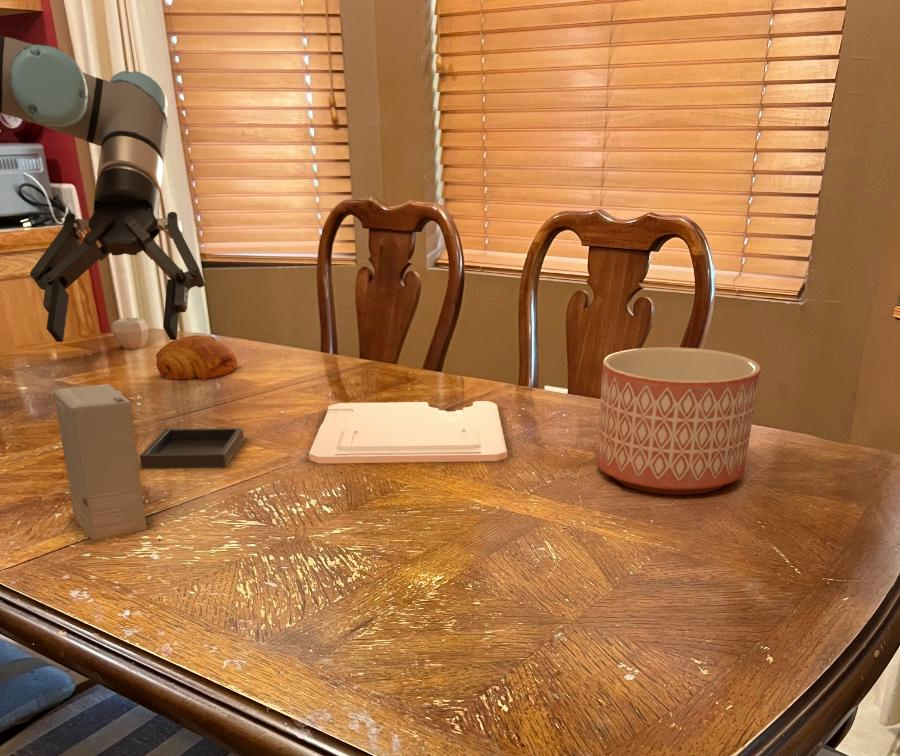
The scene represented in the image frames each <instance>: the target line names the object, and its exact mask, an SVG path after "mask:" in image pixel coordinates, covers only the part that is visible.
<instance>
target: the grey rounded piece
mask: <svg viewBox="0 0 900 756" xmlns="http://www.w3.org/2000/svg"><path fill="white" fill-rule="evenodd" d="M111 332H112V335H113V336H114V339H115V340H116V342H117V343H118V344H119V345H120V346H121V347H122V348H123V349H125V350H138V349H142V348H144V346H146V344H147V341H148V339H149V332H150V327H149V325H148V324H147V322H146V320H144V319H142V318H139V317H125V318H124V317H123V318H118V319H117V320H113V321H112V322H111Z"/></svg>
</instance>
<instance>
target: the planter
mask: <svg viewBox="0 0 900 756" xmlns="http://www.w3.org/2000/svg"><path fill="white" fill-rule="evenodd" d="M760 374H761V366H760V364H759V363H758V362H756V361H755V360H753V359H751V358H748V357H746V356H744V355H741V354H735V353H730V352H727V351H721V350H720V351H719V350H715V349H706V348H695V347H676V346H675V347H673V346H672V347H671V346H670V347H669V346H668V347H666V346H665V347H664V346H663V347H661V346H660V347H659V346H658V347H657V346H656V347H643V348H642V347H641V348H633V349H627V350H622V351H618V352H614V353H612V354H611V353H610V354H609V355H607V356H606V357H605V358H604V360H603V363H602V376H601V377H602V378H601V390H600V391H601V392H600V405H599V418H598V420H599V421H598V431H597V432H598V433H597V443H596V444H597V447H596V458H595V463H596V464H597V467H598V468H599V469H600V471H602V472H603V473H605V474H606V475H608V476H610V477H611V478H613V479H614V480H616V482H617V483H619V484H621V485H623V486H625V487H628V488H630V489H634V490H637V491H642V492H646V493H652V494H657V495H666V496H667V495H668V496H669V495H670V496H688V495H699V494H706V493H711V492H713V491H716V490H719V489H721V488H722V487H724V486H726V485H728V484H732V483H733V482H735V481H737V480H739V479H740V478H742V476H743V475H744V473H745V470H746V463H747V456H748V452H749V451H748V450H749V444H750V438H751V432H752V425H753V418H754V411H755V406H756V399H757V393H758V387H759V380H760Z"/></svg>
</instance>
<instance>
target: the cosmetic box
mask: <svg viewBox="0 0 900 756" xmlns="http://www.w3.org/2000/svg"><path fill="white" fill-rule="evenodd" d="M52 392H53V396H54V404H55V408H56V415H57V420H58V427H59V433H60V439H61V445H62V451H63V457H64V458H63V459H64V461H65V462H64V463H65V470H66V475H67V483H68V488H69V495H70V500H71V505H72V513H73V519H74V520H75V522H76V523H77V524H78V526H79V527H80V528H81V530H82V531H83V532H84V534H86V535H87V537H89V539H90V540H91V541H93V542H96V541H100V540H105V539H109V538H113V537H117V536H122V535H126V534H130V533H134V532H139V531H143V530H147V529H148V527H147V520H146V519H147V518H146V513H145V504H144V496H143V488H142V480H141V472H140V465H139V457H138V450H137V441H136V433H135V432H136V431H135V426H134V425H135V423H134V417H133V409H132V403H131V401H130V400H129V399H128V398H126V397H125V396H124V395H123V392H122V391H121V390H119V389H115V388H114V387H113V386H111V384H109V383H105V384H96V385H84V386H73V387H72V386H71V387H61V388H57V389H53V390H52Z"/></svg>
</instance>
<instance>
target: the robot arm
mask: <svg viewBox="0 0 900 756" xmlns="http://www.w3.org/2000/svg"><path fill="white" fill-rule="evenodd" d="M168 107H169V103H168V98H167V96H166V93H165V92H164V90H163V88H162V87H161V85H160V84H159V83H158V82H157V81H156V80H155V79H153V78H152V77H150V76H149V75H147V74H146V73H143V72H140V71H137V70H134V71H127V70H122V71H119V72H117V73H115V74H114V75H112V77H111V79H110V81H109V80H106V79H102V78H99V77H96V76H93V75H91V74H88V73H87V72H83V70H82V69H81V67H80V65H79V64H78V63H77V61H76V60H75V59H74V58H73V57H72V56H70V55H68V54H67V53H66V52H65V51H64V50H61V49H59V48H56V47H54V46H52V45H48V44H44V43H41V44H33V43H29V42H27V41H23V40H21V39H20V40H19V39H17V38H12V37H9V36H5V35H1V34H0V114H2V115H6V116H10V117H13V118H17V119H20V120H22V121H24V122H26V123H32V124H34V125H38V126H42V127H44V128H47V129H50V130H53V131H55V132H57V133H60V134H64V135H68V136H70V137H74V138H76V139H79V140H83V141H85V142H87V143H90V144H93V145H96V146H98V147H100V153H99V159H98V165H97V172H96V177H97V179H96V180H95V181H96V182H95V190H94V198H93V213H92V214H91V216H90V217H89V219H86V218H85V219H83V218H77V216H76V214H74V213H72V212H69V213H67V214H66V215H65V217H64V221H63V224H62V227H61V229H60V231H59V232H58V233H57V235H56V236H55V238H53V240H52V241H51V243H50V244H49V246H48V247H47V248H46V250H44V252H43V254H42V255H41V257H40V258H39V259H38V260H37V262H36V263H35V265H34V266H33V267H32V269H31V270H30V272H29V275H30V277H31V278H32V280H33V281H34V282H35V284H36V285H37V286H38V287H39V289H40V290H42V291H44V293H43V301H42V305H43V307H44V309H45V310H46V312H47V314H48V315H47V323H46V330H47V331H48V333H49V334H50V335H51V336H52V337H53V339H54V341H55V342H56V343H63V342H64V337H65V329H66V322H67V316H68V315H67V314H68V307H69V299H70V295H69V293H68V292H67V289H68V288H69V287H70V286H71V285H72V284H73V283H75V282H76V281H77V280H78V279H79V278H80V277H81V276H82V275H84V274H85V273H86V272H87V271H88V270H89V269H90V268H91V267H93V265H95V264H96V263H97V262H98V261H104V260H105V259H106V258H107V257H108V256H109V255H110V254H111V256H122V255H129V256H138V254H139V253H141V252H143V253H145V255H146V256H147V257H148V258H149V259H150V260H151V261H153V262H154V263H155V265H157V267H159V268H160V270H161V271H162V272H163V273H164V274H165V275H166V276H167V279H166V280H167V282H166V290H165V291H166V292H165V301H164V312H163V323H162V327H163V330H164V332H165V333H166V335H167V337H168V339H169V340H170V341H174V340H177V339H178V329H179V316H180V313H186V312H187V310H188V304H189V303H188V301H189V292H190V290H191V289H193V288H194V287H195V288H196V287H197V288H203V287H204V286H205V285H206V281H205V278H204V276H203V273H202V271H201V269H200V267H199V264H198V263H197V261H196V259H195V257H194V255H193V253H192V251H191V250H190V248H189V245H188V244H187V242H186V240H185V238H184V227H183V225H182V223H181V221H180V218H179V216H178V214H177V212H176V211H171V212H168V213H167V216H166V217H163V218H159V214H160V213H159V212H160V204H161V203H160V202H161V195H160V194H161V190H162V182H163V171H164V170H163V169H164V160H165V152H166V143H167V133H168V128H169V120H168V115H169V114H168V112H169V110H168V109H169V108H168ZM160 232H164V234H165V236H166V237H169V238H170V239H172V241H173V244H174V246H175V248H176V250H177V251H178V253H179V255H180V257H181V259H182V261H183V263H184V265H185V266H186V269H187V271H185V272H184V270H183V268H182V267H181V268H180V267H179V266H178V265H177V264H176V263H175V261H173V260H172V258H170V256H169V255H168V254H167V253H166V252H165V251H164V250H163V249H162V248H161V246H160V245H158V244H157V242H156V241H155V238H157V236H158V235H160ZM81 241H82V242H81ZM97 242H98V243H99V244H100V245H101V246H99V245H98V243H97ZM168 278H169V279H168Z"/></svg>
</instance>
